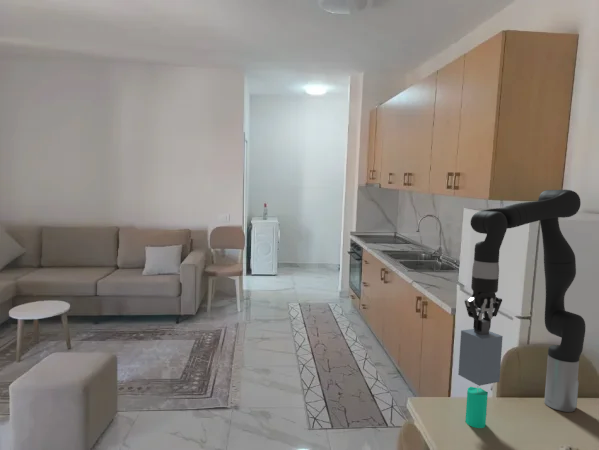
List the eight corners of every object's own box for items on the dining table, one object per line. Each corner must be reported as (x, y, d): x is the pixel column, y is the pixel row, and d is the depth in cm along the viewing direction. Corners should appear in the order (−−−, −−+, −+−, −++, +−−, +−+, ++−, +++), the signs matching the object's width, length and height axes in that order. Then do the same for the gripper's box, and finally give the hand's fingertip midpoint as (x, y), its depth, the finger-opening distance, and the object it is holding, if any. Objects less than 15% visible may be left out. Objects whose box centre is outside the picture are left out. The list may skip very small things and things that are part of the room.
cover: (478, 371, 138) (481, 315, 137) (499, 381, 130) (503, 323, 129) (458, 374, 135) (461, 318, 134) (479, 385, 127) (483, 325, 126)
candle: (487, 429, 130) (490, 391, 129) (467, 426, 131) (469, 389, 130) (483, 419, 136) (485, 383, 135) (463, 416, 137) (466, 381, 136)
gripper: (492, 272, 137) (488, 325, 138) (458, 274, 131) (455, 329, 132) (511, 277, 130) (508, 332, 131) (477, 279, 124) (474, 336, 125)
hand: (481, 330), depth 132 cm, fingers closed on cover, 3 cm apart
